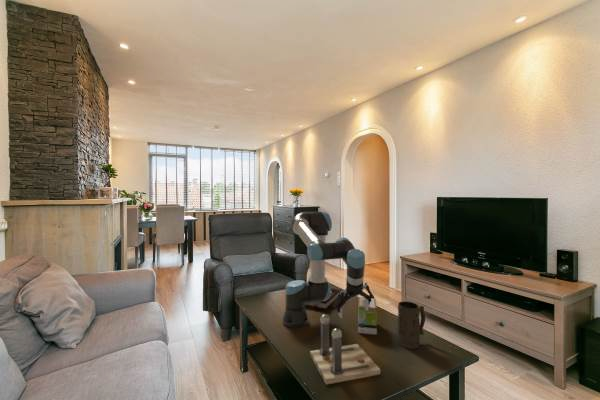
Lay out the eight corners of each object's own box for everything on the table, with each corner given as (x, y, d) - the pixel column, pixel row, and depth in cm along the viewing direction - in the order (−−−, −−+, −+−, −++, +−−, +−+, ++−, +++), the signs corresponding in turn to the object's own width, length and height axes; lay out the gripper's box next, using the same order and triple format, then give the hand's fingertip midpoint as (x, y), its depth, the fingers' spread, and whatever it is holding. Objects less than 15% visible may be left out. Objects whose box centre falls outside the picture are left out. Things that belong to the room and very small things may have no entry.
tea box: (377, 335, 150) (377, 307, 150) (358, 333, 152) (358, 306, 152) (375, 322, 165) (375, 297, 164) (358, 321, 167) (358, 296, 166)
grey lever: (318, 350, 131) (318, 313, 130) (327, 349, 132) (327, 312, 132) (322, 356, 127) (321, 317, 126) (331, 354, 128) (331, 316, 127)
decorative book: (299, 296, 188) (317, 284, 214) (299, 307, 188) (317, 293, 214) (326, 301, 179) (342, 287, 205) (326, 313, 179) (342, 298, 205)
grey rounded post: (329, 368, 117) (329, 327, 117) (339, 367, 118) (339, 325, 118) (333, 375, 113) (333, 332, 113) (343, 373, 114) (343, 330, 114)
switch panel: (310, 355, 131) (310, 350, 131) (357, 347, 137) (357, 343, 137) (326, 384, 111) (326, 378, 111) (380, 374, 117) (380, 368, 117)
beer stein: (408, 351, 134) (410, 309, 134) (391, 341, 143) (393, 301, 144) (430, 345, 141) (432, 305, 141) (412, 336, 150) (414, 298, 151)
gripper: (331, 293, 122) (332, 325, 132) (384, 279, 127) (380, 311, 137) (326, 280, 128) (326, 312, 138) (375, 268, 133) (372, 299, 143)
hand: (353, 312), depth 138 cm, fingers open, 13 cm apart
